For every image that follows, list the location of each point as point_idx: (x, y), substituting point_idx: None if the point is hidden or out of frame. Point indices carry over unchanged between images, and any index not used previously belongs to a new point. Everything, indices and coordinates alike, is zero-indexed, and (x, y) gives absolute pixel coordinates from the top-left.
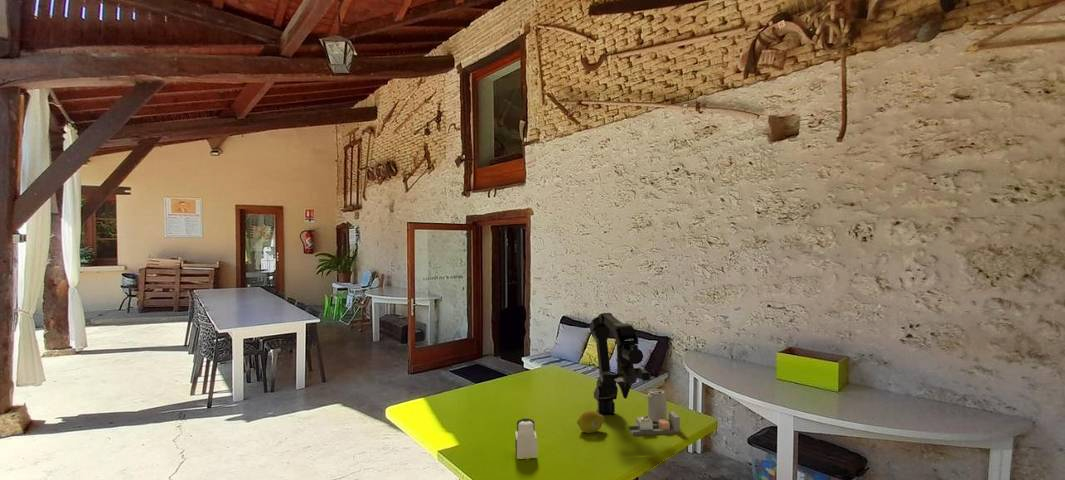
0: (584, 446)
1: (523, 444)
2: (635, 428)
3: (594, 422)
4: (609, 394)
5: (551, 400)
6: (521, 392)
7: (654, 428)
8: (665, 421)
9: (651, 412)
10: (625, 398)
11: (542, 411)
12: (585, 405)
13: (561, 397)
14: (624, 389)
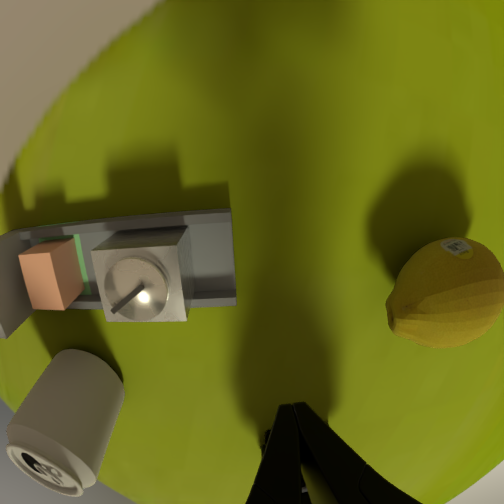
0: (471, 125)
1: None
2: (199, 293)
3: (459, 249)
4: (306, 499)
5: (410, 476)
6: (441, 485)
7: None
8: (34, 278)
9: (97, 391)
10: (290, 405)
11: (467, 417)
12: None
13: None
14: (344, 486)
